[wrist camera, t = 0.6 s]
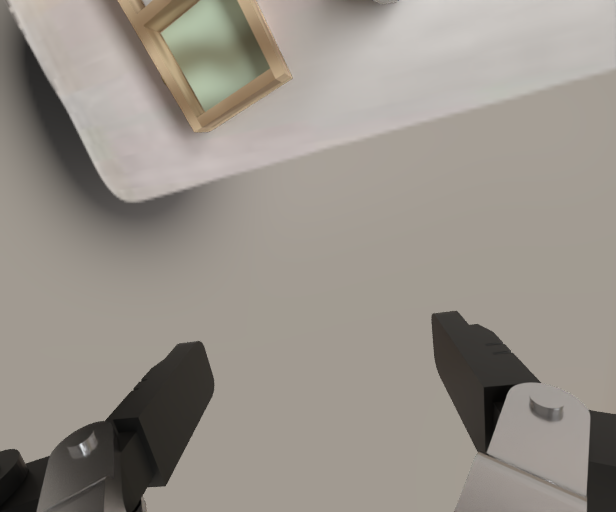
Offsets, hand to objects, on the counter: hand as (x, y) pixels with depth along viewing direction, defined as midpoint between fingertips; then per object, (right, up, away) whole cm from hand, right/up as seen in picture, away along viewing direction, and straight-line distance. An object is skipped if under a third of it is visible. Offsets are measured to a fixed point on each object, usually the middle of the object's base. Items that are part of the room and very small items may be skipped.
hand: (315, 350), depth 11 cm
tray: (-11, +28, +20) cm, 37 cm away
